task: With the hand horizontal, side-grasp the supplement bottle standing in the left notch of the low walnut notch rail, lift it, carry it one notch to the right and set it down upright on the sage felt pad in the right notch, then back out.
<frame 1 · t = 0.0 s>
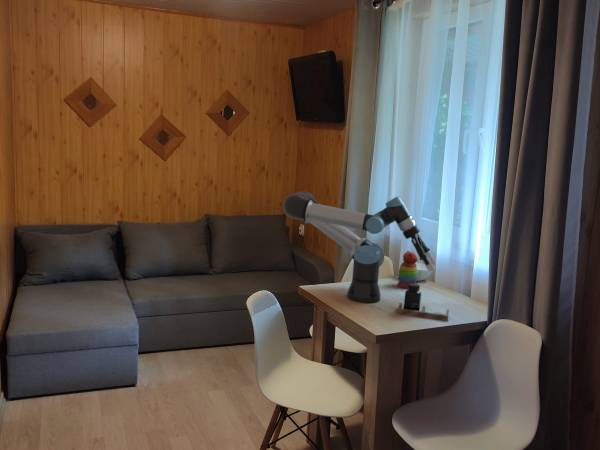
hand: (432, 267, 272), 15 cm above the table, tool tilted 35°, fingers open, 13 cm apart
notch rail: (423, 313, 251), on the table
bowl: (416, 279, 311), on the table
stacking bear: (407, 286, 295), on the table
supplement bottle: (411, 312, 253), resting on notch rail
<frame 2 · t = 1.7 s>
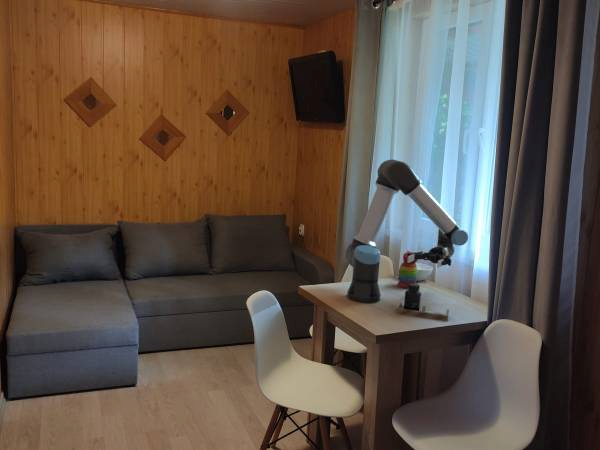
hand: (423, 262, 258), 20 cm above the table, tool horizontal, fingers open, 13 cm apart
nothing on the table moved.
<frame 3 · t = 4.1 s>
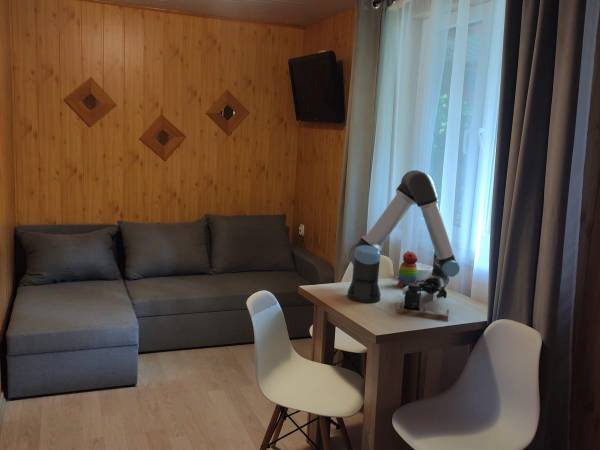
hand: (418, 294, 256), 7 cm above the table, tool horizontal, fingers open, 13 cm apart
nothing on the table moved.
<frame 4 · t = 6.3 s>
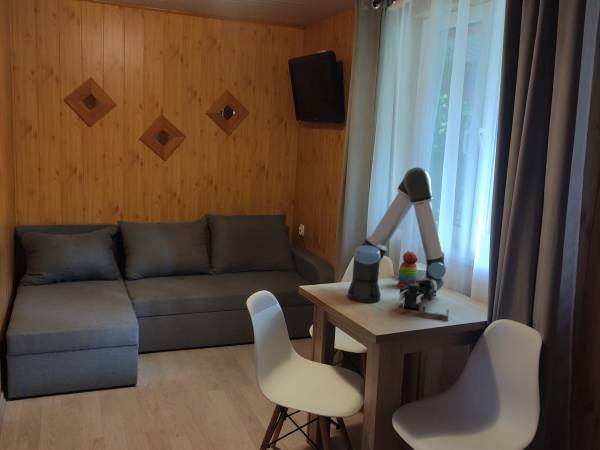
hand: (408, 298, 248), 7 cm above the table, tool horizontal, fingers closed on supplement bottle, 7 cm apart
supplement bottle: (411, 312, 253), resting on notch rail, touching gripper
everything else where it was.
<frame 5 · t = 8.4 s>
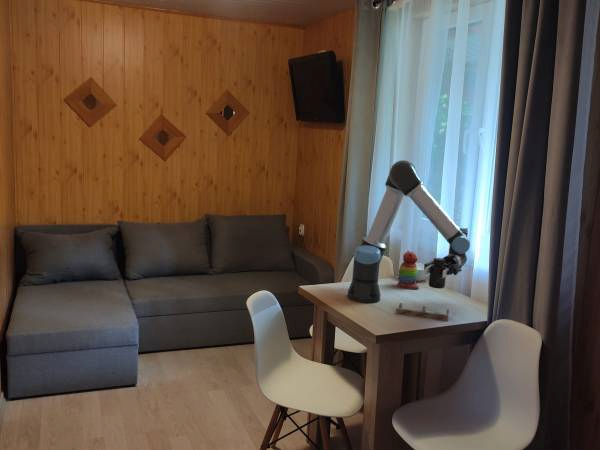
hand: (434, 272, 243), 19 cm above the table, tool horizontal, fingers closed on supplement bottle, 7 cm apart
supplement bottle: (436, 287, 249), point 12 cm above the table, touching gripper
everything else where it was.
when the fingers open (8 cm above the table, at t = 10.9 s): supplement bottle stays where it is, resting on notch rail.
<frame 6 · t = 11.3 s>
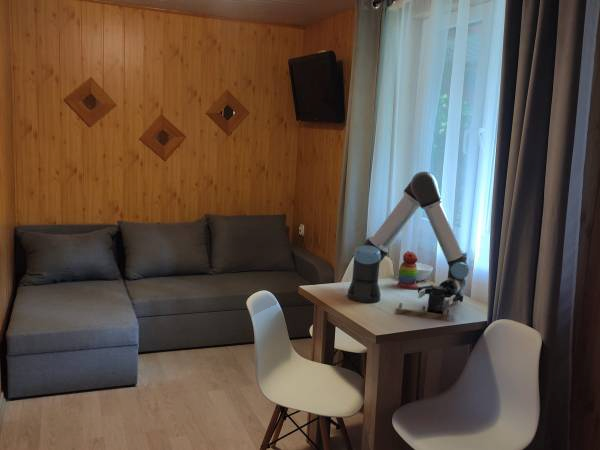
hand: (434, 298, 246), 8 cm above the table, tool horizontal, fingers open, 12 cm apart
supplement bottle: (434, 314, 251), resting on notch rail
everything else where it was.
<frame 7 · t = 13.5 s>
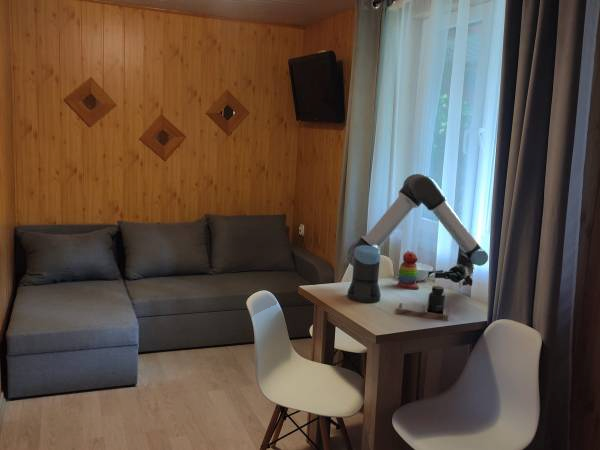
hand: (444, 281, 258), 12 cm above the table, tool horizontal, fingers open, 13 cm apart
nothing on the table moved.
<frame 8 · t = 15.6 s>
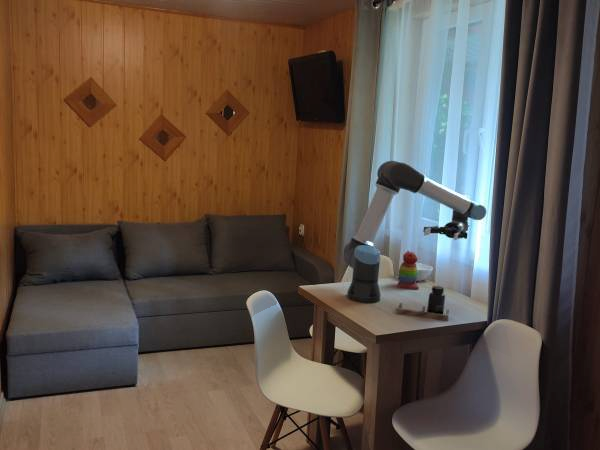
hand: (439, 234, 261), 32 cm above the table, tool horizontal, fingers open, 13 cm apart
nothing on the table moved.
at the end: supplement bottle inside the target area (0.0 cm from its centre), resting on notch rail; supplement bottle tilted 0°; the gripper is holding nothing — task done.
